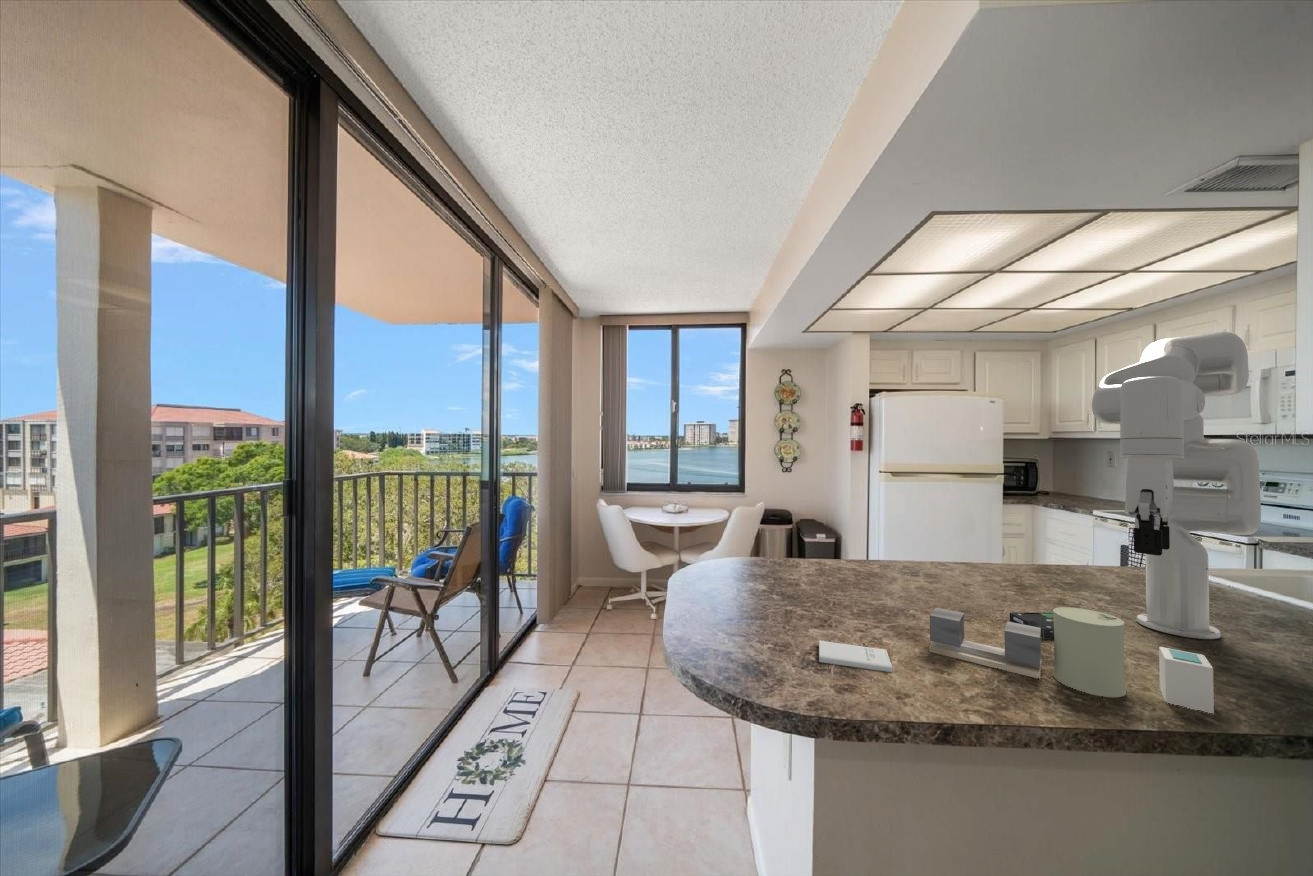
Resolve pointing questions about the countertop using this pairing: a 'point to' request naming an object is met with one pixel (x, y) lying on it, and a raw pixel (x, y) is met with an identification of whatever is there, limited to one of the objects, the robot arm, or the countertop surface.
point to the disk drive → (1036, 621)
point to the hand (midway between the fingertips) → (1152, 551)
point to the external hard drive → (854, 656)
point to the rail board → (1016, 656)
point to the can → (1089, 651)
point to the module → (1186, 679)
